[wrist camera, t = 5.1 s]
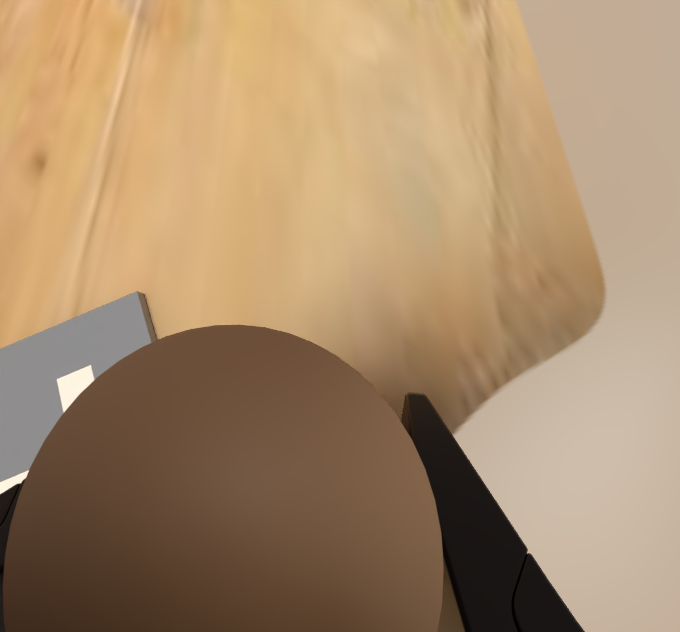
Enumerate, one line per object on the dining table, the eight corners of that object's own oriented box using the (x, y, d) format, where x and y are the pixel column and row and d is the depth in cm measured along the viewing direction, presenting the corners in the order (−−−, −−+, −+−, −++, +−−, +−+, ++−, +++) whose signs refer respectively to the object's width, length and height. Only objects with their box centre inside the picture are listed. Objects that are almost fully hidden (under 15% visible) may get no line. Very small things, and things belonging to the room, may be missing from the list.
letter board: (228, 591, 16) (222, 598, 16) (-85, 724, 16) (-102, 737, 16) (143, 294, 20) (136, 291, 19) (-112, 402, 20) (-127, 402, 19)
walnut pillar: (409, 433, 14) (548, 578, 3) (327, 511, 13) (161, 988, 3) (336, 352, 15) (248, 248, 4) (258, 423, 14) (-68, 517, 4)
